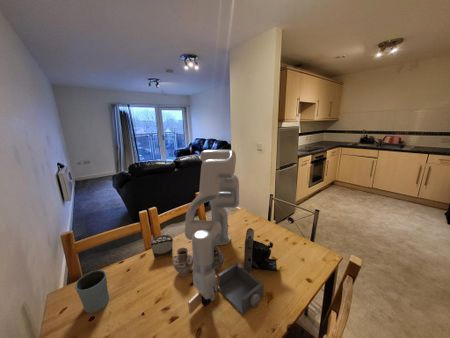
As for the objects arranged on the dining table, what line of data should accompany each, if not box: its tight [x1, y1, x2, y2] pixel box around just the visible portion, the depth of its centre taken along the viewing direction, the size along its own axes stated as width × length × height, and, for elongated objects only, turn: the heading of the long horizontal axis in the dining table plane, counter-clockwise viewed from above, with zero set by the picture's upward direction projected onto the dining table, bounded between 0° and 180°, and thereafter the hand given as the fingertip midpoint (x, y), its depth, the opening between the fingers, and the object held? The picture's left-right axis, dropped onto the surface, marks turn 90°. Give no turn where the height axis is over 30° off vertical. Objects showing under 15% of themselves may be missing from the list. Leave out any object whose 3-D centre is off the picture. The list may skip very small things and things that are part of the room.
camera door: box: [187, 275, 219, 315], centre depth 77 cm, size 16×2×5 cm, turn 142°
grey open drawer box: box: [217, 262, 264, 316], centre depth 80 cm, size 18×12×7 cm
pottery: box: [172, 245, 226, 277], centre depth 93 cm, size 11×25×12 cm, turn 99°
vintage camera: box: [243, 227, 278, 274], centre depth 92 cm, size 10×16×20 cm, turn 79°
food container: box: [149, 234, 175, 260], centre depth 106 cm, size 12×6×10 cm, turn 108°
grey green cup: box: [74, 269, 110, 314], centre depth 77 cm, size 10×10×12 cm
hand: (206, 303), depth 74 cm, fingers closed
